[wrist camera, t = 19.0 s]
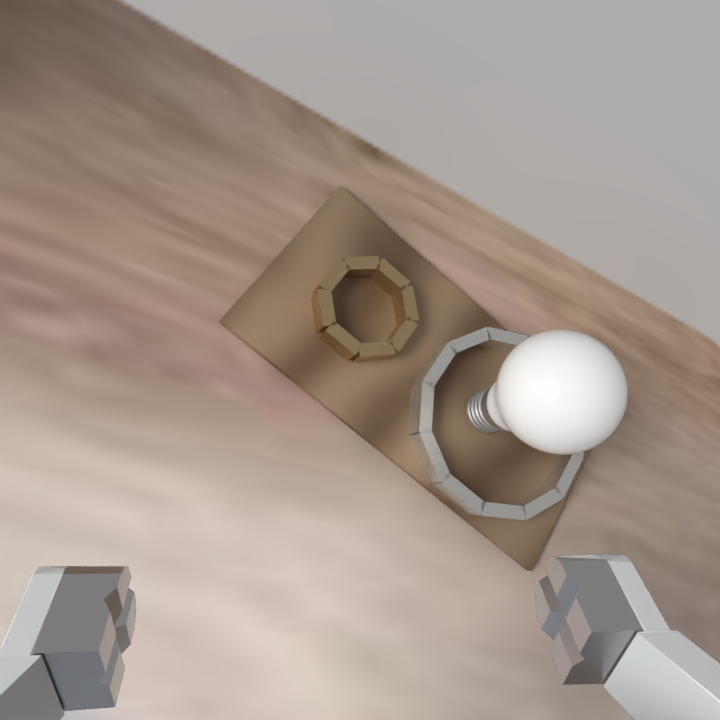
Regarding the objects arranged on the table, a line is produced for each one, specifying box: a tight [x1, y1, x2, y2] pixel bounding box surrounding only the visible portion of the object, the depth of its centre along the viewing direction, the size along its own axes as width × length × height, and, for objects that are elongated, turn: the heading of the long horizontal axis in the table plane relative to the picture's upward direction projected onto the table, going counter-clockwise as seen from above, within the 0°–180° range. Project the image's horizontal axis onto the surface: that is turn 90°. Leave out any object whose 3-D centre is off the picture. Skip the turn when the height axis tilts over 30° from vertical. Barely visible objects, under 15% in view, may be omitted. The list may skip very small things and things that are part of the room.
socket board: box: [219, 186, 592, 571], centre depth 36 cm, size 24×12×2 cm, turn 54°
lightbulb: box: [466, 330, 628, 455], centre depth 32 cm, size 6×6×11 cm
